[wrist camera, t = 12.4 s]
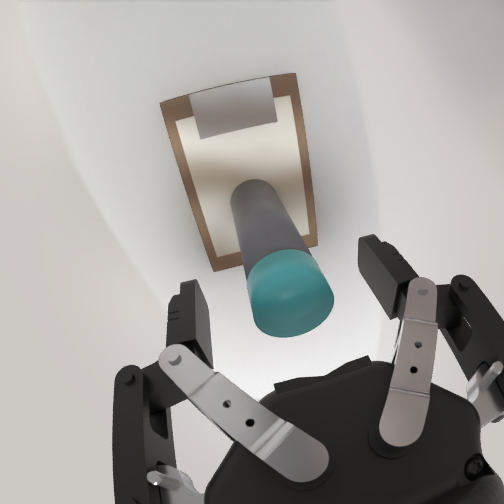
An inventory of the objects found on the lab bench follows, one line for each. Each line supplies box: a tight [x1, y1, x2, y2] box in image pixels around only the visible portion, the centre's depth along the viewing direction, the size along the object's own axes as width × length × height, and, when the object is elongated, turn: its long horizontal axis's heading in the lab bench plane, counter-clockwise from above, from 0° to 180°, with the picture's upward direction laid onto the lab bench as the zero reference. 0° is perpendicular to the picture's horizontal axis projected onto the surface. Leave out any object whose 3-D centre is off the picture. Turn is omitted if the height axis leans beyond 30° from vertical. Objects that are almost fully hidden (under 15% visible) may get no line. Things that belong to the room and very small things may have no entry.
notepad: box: [160, 73, 318, 272], centre depth 20 cm, size 14×9×2 cm, turn 12°
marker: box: [230, 179, 334, 337], centre depth 17 cm, size 4×4×11 cm
